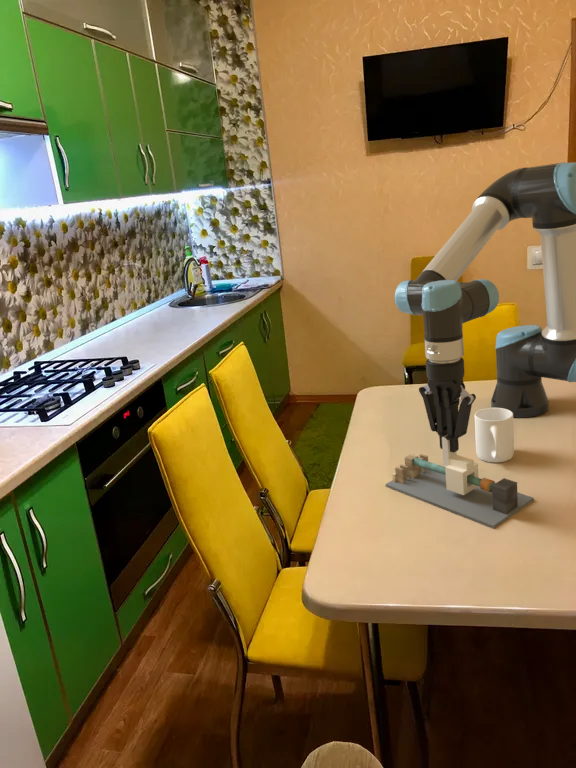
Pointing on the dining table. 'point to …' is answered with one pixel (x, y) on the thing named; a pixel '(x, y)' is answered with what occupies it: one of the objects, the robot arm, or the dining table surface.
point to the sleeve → (460, 474)
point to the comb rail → (501, 491)
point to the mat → (456, 498)
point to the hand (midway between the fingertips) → (450, 463)
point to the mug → (494, 434)
